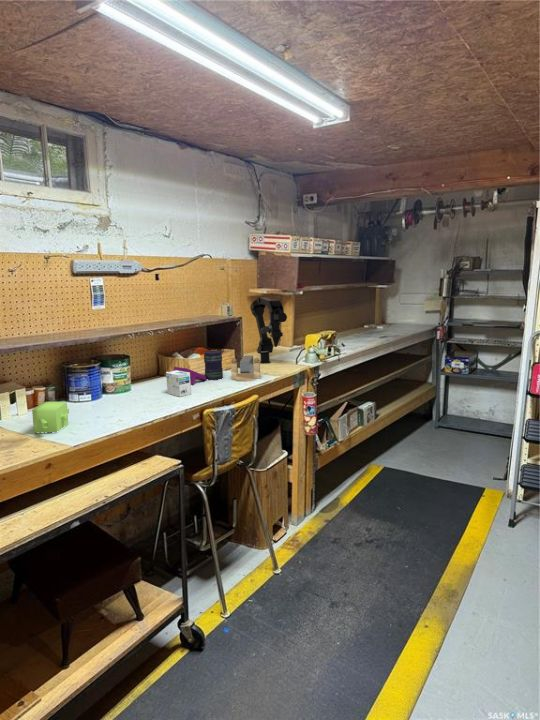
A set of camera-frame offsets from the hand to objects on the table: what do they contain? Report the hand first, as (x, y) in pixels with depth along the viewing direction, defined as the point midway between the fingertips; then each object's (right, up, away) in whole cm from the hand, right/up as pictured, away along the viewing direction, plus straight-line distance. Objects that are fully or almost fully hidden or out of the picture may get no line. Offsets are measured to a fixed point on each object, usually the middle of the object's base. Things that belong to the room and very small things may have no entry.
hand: (275, 346), depth 282 cm
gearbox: (-84, -34, -107) cm, 141 cm away
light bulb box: (-47, -25, -59) cm, 79 cm away
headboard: (-16, -19, -33) cm, 42 cm away
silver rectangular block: (-16, -17, -23) cm, 33 cm away
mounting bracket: (-45, -20, -36) cm, 61 cm away
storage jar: (-34, -18, -27) cm, 47 cm away
